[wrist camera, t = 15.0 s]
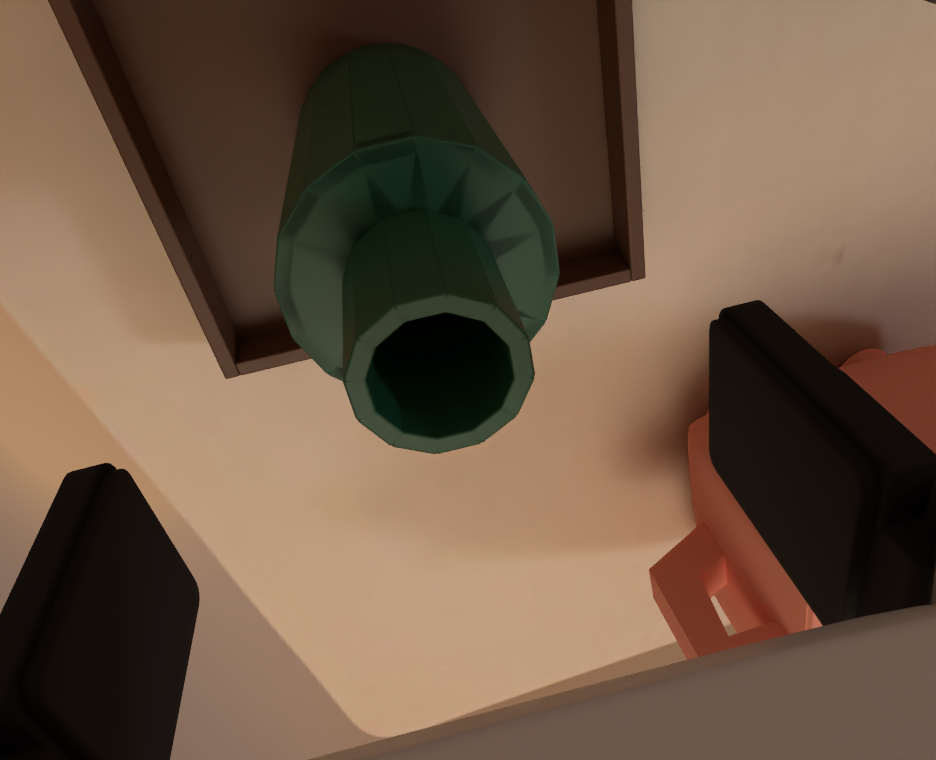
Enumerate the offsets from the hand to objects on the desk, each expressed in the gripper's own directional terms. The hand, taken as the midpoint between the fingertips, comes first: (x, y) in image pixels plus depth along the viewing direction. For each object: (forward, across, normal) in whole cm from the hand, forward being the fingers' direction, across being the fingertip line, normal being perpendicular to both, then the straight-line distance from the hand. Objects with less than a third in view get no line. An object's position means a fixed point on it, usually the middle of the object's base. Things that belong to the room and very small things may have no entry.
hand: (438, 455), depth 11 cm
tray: (+19, -1, 0) cm, 19 cm away
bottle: (+18, 0, 0) cm, 18 cm away
